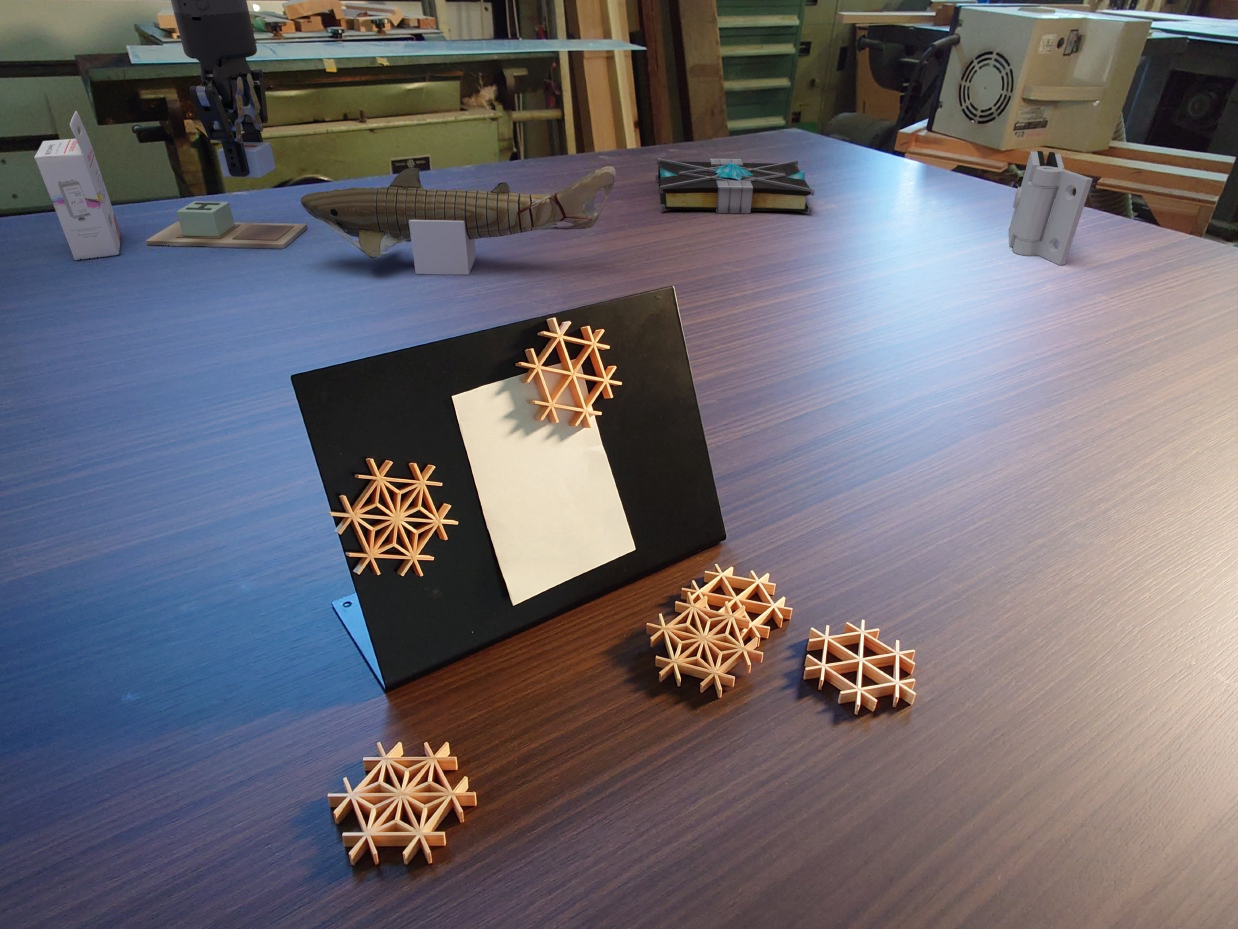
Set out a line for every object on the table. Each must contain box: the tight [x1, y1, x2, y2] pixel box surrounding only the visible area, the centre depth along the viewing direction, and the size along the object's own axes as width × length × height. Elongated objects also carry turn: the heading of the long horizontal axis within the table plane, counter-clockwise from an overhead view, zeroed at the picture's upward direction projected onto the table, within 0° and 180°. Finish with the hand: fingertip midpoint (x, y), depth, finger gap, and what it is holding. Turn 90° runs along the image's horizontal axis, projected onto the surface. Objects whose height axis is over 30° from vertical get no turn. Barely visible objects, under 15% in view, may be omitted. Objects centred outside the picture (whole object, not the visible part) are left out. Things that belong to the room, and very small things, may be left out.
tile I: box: [217, 141, 277, 178], centre depth 96 cm, size 4×4×3 cm
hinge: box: [1008, 150, 1094, 266], centre depth 100 cm, size 14×5×10 cm, turn 171°
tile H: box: [176, 200, 235, 237], centre depth 100 cm, size 4×4×3 cm
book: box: [655, 157, 816, 215], centre depth 118 cm, size 22×17×5 cm
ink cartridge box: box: [34, 110, 122, 261], centre depth 94 cm, size 9×5×15 cm, turn 26°
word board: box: [145, 220, 309, 250], centre depth 101 cm, size 17×8×1 cm, turn 88°
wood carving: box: [300, 165, 617, 276], centre depth 91 cm, size 9×35×11 cm, turn 91°
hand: (249, 169), depth 97 cm, fingers closed on tile I, 4 cm apart
